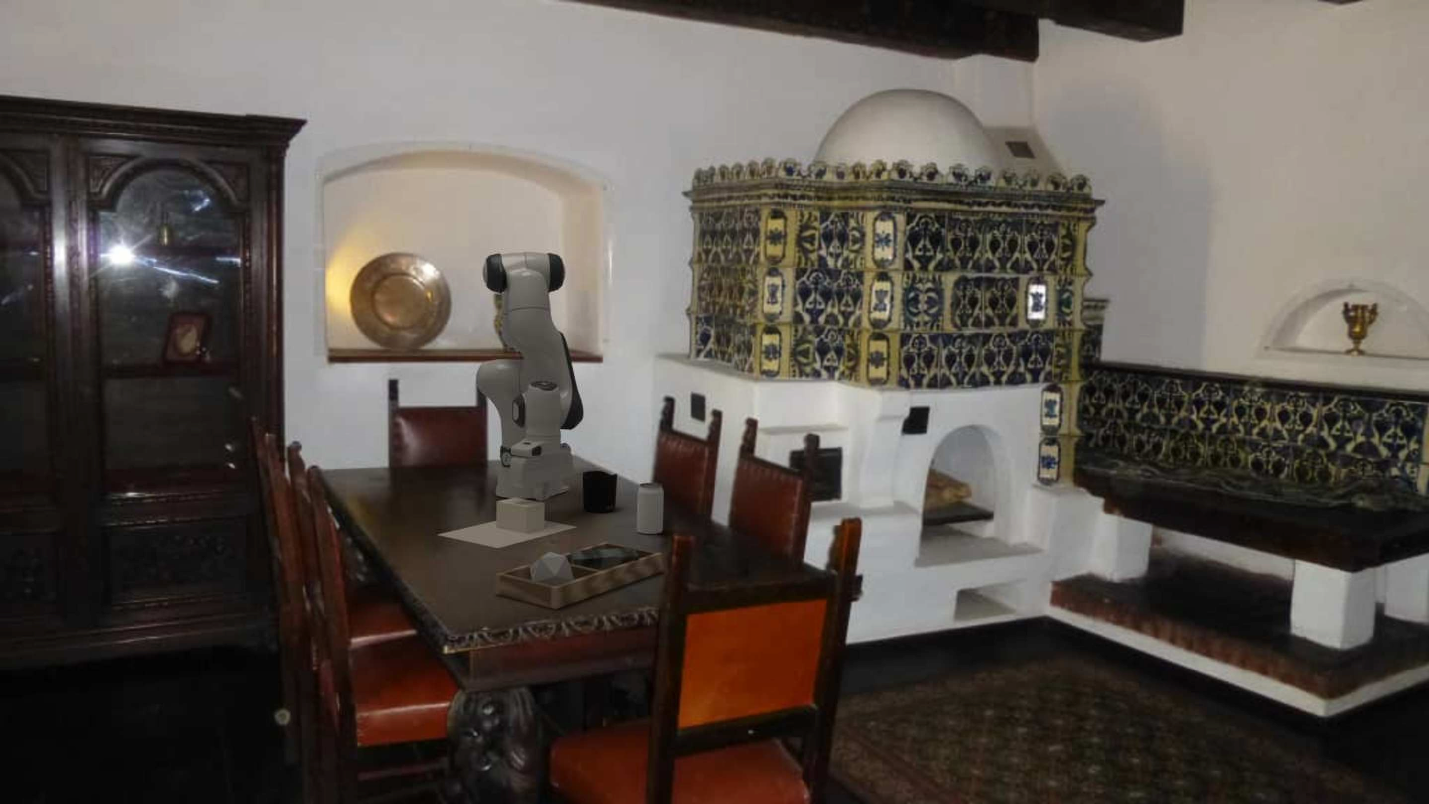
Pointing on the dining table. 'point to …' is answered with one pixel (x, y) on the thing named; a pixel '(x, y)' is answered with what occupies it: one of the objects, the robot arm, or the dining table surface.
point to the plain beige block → (520, 515)
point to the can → (650, 508)
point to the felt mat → (502, 534)
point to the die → (551, 569)
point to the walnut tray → (577, 579)
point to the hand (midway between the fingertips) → (542, 499)
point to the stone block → (603, 557)
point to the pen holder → (599, 491)
